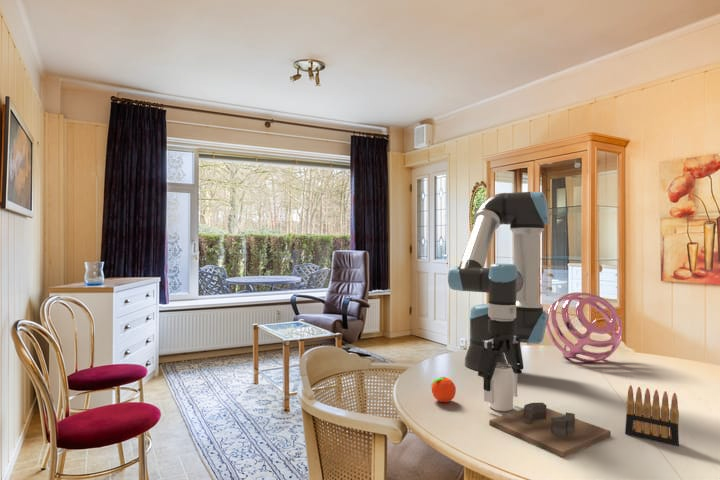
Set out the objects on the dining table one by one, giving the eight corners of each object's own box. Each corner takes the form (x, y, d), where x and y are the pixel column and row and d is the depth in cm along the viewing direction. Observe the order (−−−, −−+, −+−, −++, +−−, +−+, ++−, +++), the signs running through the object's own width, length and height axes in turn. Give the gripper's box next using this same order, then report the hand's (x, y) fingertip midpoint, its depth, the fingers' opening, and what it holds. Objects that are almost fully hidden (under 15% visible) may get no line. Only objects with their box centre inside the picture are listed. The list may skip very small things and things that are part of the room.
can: (500, 413, 120) (501, 369, 119) (483, 405, 125) (484, 363, 125) (518, 409, 122) (518, 366, 122) (500, 402, 128) (501, 360, 128)
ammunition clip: (625, 434, 108) (625, 385, 108) (625, 431, 109) (626, 383, 109) (679, 446, 102) (679, 394, 102) (678, 443, 103) (679, 392, 103)
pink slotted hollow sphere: (537, 302, 199) (562, 272, 177) (601, 319, 195) (635, 291, 173) (532, 360, 184) (559, 335, 161) (601, 380, 180) (639, 358, 158)
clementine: (436, 408, 123) (437, 382, 123) (423, 399, 129) (424, 375, 129) (460, 404, 126) (461, 379, 126) (446, 396, 132) (446, 372, 132)
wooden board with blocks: (489, 424, 112) (489, 406, 112) (537, 408, 123) (537, 392, 123) (563, 457, 96) (563, 435, 96) (610, 435, 107) (610, 416, 107)
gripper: (486, 324, 115) (485, 410, 115) (537, 317, 127) (536, 395, 127) (464, 320, 121) (463, 401, 121) (515, 313, 133) (514, 387, 133)
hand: (500, 398), depth 124 cm, fingers open, 9 cm apart
